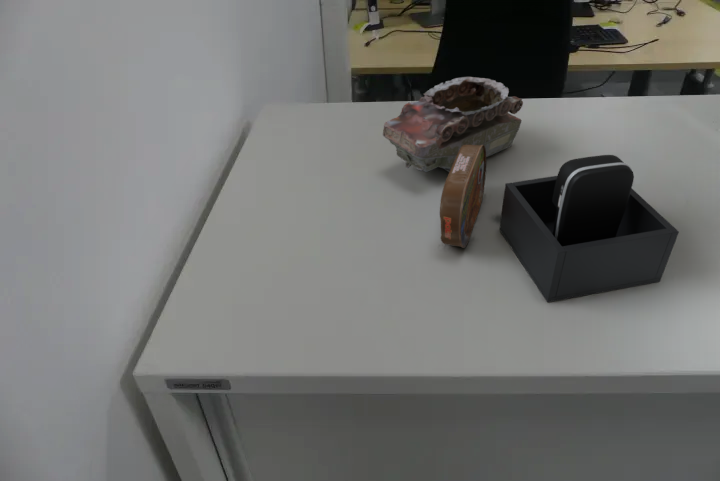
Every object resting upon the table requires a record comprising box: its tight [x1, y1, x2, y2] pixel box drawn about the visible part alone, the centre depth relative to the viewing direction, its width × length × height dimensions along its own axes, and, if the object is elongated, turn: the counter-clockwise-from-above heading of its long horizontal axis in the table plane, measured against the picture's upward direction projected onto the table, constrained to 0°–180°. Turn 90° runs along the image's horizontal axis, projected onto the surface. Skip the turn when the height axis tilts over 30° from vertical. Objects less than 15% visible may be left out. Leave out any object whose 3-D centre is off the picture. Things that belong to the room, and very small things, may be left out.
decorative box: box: [382, 76, 524, 173], centre depth 76 cm, size 13×20×10 cm, turn 120°
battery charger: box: [552, 154, 635, 247], centre depth 59 cm, size 7×4×11 cm, turn 99°
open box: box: [499, 175, 680, 303], centre depth 61 cm, size 13×13×7 cm
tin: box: [439, 145, 487, 249], centre depth 66 cm, size 15×3×8 cm, turn 160°
